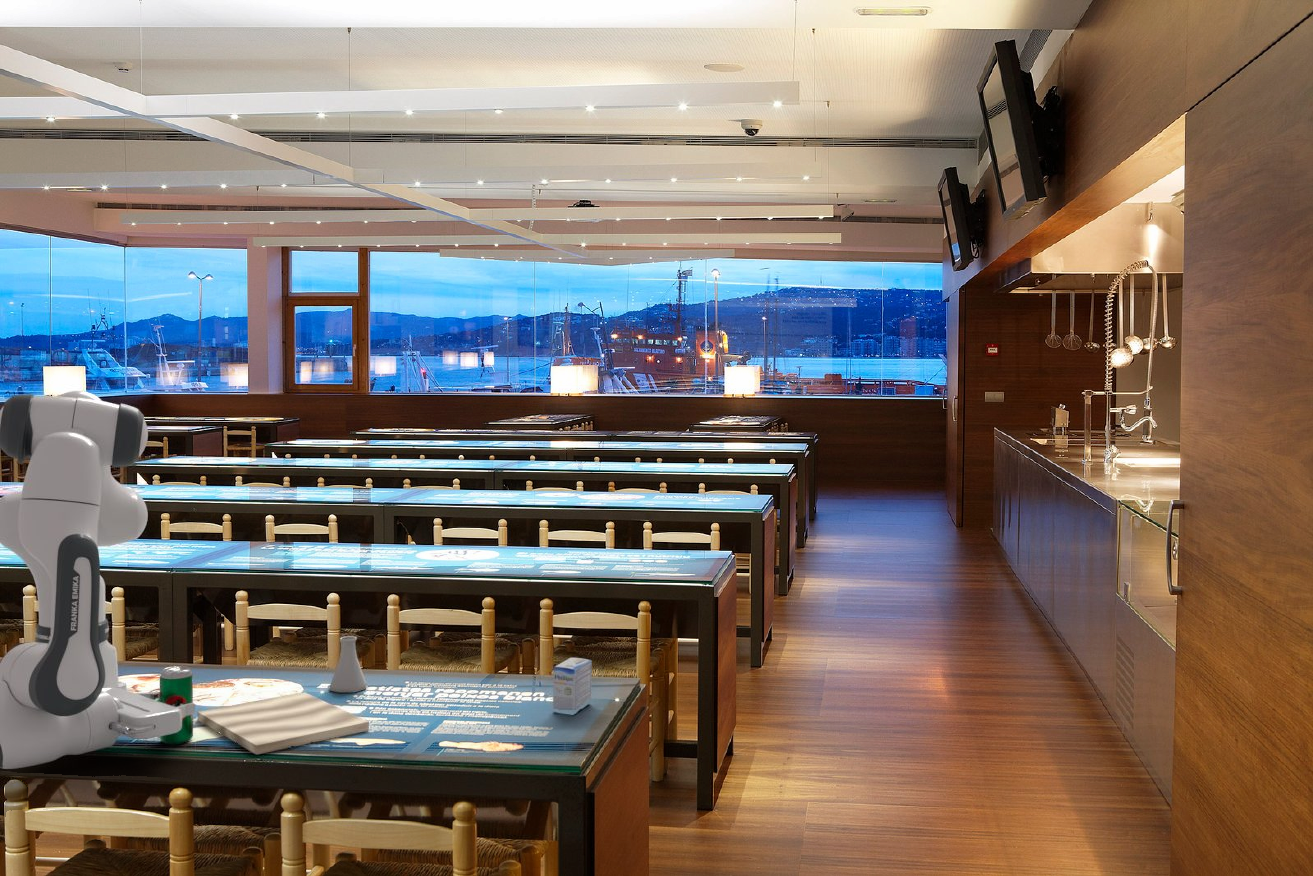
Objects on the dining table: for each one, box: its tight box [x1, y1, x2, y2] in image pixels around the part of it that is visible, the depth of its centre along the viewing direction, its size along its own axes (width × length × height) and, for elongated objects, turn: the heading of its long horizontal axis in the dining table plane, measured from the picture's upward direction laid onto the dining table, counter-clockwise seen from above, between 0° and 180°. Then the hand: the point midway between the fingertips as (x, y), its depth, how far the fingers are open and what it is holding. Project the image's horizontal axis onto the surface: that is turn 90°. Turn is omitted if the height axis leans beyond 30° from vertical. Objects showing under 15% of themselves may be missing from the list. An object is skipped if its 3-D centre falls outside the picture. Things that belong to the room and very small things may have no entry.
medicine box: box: [552, 657, 593, 710], centre depth 218 cm, size 8×4×9 cm, turn 161°
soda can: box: [159, 665, 194, 745], centre depth 195 cm, size 5×5×12 cm
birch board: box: [196, 691, 370, 755], centre depth 205 cm, size 24×20×2 cm
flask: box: [328, 635, 368, 693], centre depth 229 cm, size 7×7×10 cm
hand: (177, 702), depth 196 cm, fingers open, 8 cm apart
